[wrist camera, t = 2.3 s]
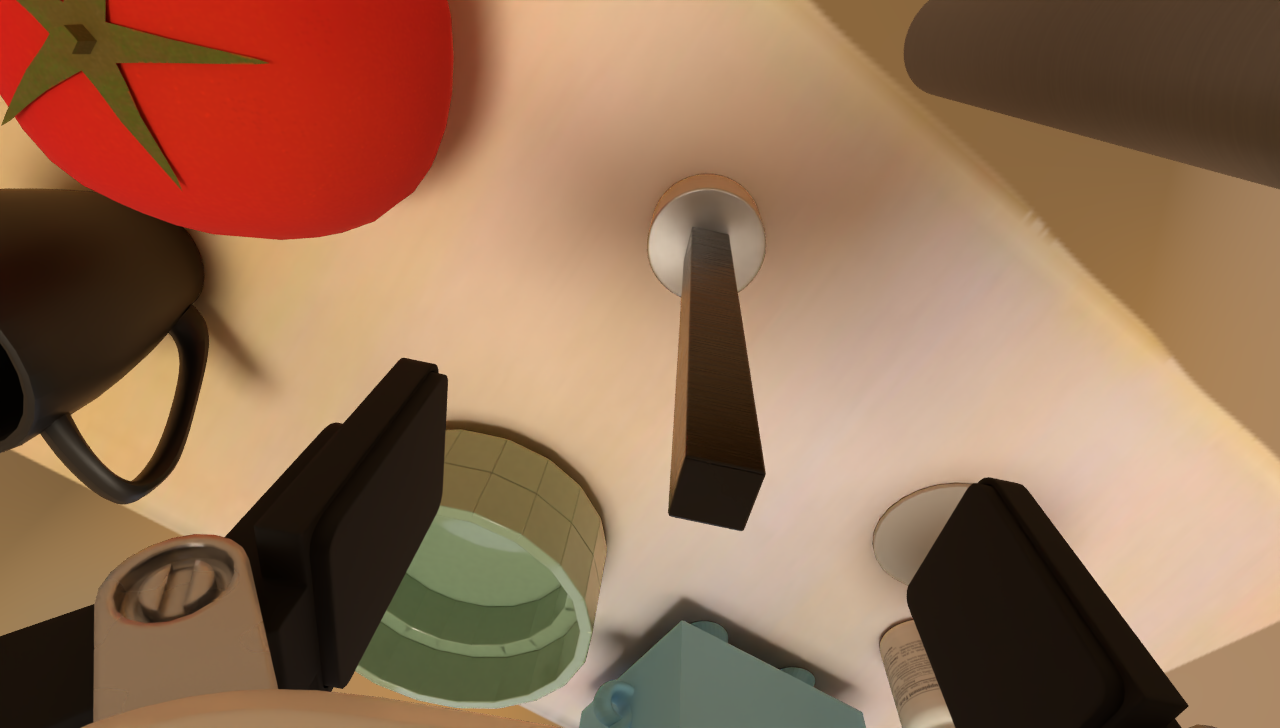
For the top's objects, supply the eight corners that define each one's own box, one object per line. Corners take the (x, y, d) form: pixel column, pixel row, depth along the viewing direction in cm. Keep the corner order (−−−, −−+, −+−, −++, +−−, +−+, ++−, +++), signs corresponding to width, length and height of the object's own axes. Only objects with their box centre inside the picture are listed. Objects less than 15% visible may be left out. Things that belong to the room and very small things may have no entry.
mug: (215, 418, 31) (41, 558, 23) (10, 214, 27) (-301, 297, 18) (328, 357, 29) (180, 489, 21) (126, 121, 24) (-173, 168, 16)
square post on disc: (774, 187, 23) (889, 419, 9) (743, 290, 25) (798, 604, 12) (663, 162, 23) (612, 360, 9) (641, 268, 25) (573, 558, 11)
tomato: (124, -189, 19) (-394, -388, 10) (499, -135, 19) (317, -288, 10) (205, 169, 25) (-84, 250, 16) (496, 212, 25) (376, 319, 16)
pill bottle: (971, 649, 35) (1036, 797, 28) (901, 674, 37) (946, 820, 30) (935, 605, 33) (995, 751, 27) (864, 634, 35) (903, 777, 28)
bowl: (629, 453, 30) (614, 541, 25) (586, 632, 37) (568, 731, 32) (349, 394, 30) (275, 471, 25) (359, 585, 37) (303, 677, 32)
